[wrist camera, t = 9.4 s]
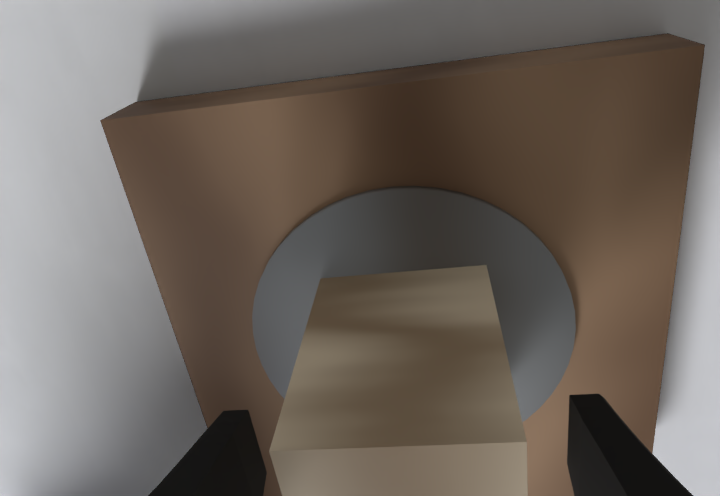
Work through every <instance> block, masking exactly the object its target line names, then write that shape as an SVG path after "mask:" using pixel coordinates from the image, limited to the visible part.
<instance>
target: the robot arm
mask: <svg viewBox="0 0 720 496" xmlns="http://www.w3.org/2000/svg"><path fill="white" fill-rule="evenodd" d="M567 466H568V470H569V474H570V479H571V483H572V488H573V492H574V496H693V495H692V494H691V493H690V492H689V491H688V490H687V489H686V488H685V487H684V486H683V485H682V484H681V483H680V482H679V481H678V480H677V479H676V478H675V477H674V476H673V475H672V474H671V473H670V472H669V471H668V470H667V469H666V468H665V467H664V466H663V465H662V464H661V463H660V461H659V460H658V459H657V458H656V457H655V456H654V455H653V454H652V453H651V452H650V451H649V450H648V449H647V448H646V446H645V445H644V444H643V443H642V442H641V441H640V440H639V439H638V437H637V436H636V435H635V434H634V433H633V432H632V431H631V430H630V428H629V427H628V426H627V425H626V424H625V423H624V421H623V420H622V419H621V418H620V417H619V415H618V414H617V413H616V412H615V411H614V409H613V408H612V407H611V406H610V404H609V403H608V402H607V401H606V399H605V398H604V397H603V396H601V395H600V394H579V395H569V421H568V449H567ZM266 475H267V471H266V468H265V464H264V461H263V457H262V454H261V451H260V447H259V444H258V441H257V437H256V434H255V431H254V427H253V424H252V421H251V417H250V414H249V411H248V410H229V411H223V412H222V413H221V414H220V415H219V416H218V417H217V419H216V420H215V421H214V422H213V423H212V424H211V425H210V427H209V428H208V429H207V430H206V431H205V432H204V434H203V435H202V436H201V437H200V438H199V439H198V441H197V442H196V443H195V444H194V445H193V446H192V448H191V449H190V450H189V451H188V452H187V453H186V455H185V456H184V457H183V458H182V459H181V460H180V461H179V463H178V464H177V465H176V466H175V467H174V468H173V469H172V470H171V472H170V473H169V474H168V475H167V476H166V477H165V478H164V479H163V481H162V482H161V483H160V484H159V485H158V486H157V487H156V488H155V489H154V490H153V491H152V492H151V493H150V494H149V496H263V493H264V487H265V481H266Z"/></svg>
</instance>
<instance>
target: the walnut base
mask: <svg viewBox="0 0 720 496" xmlns="http://www.w3.org/2000/svg"><path fill="white" fill-rule="evenodd" d="M704 48H705V45H703V44H700V43H697V42H694V41H690V40H687V39H684V38H681V37H677V36H674V35H671V34H660V35H652V36H645V37H637V38H629V39H621V40H614V41H606V42H598V43H590V44H583V45H575V46H567V47H559V48H551V49H544V50H536V51H528V52H520V53H513V54H505V55H497V56H489V57H482V58H474V59H466V60H458V61H450V62H443V63H435V64H427V65H419V66H412V67H404V68H396V69H388V70H380V71H373V72H365V73H357V74H349V75H342V76H334V77H326V78H318V79H311V80H303V81H295V82H287V83H279V84H272V85H264V86H256V87H248V88H241V89H233V90H225V91H217V92H210V93H202V94H194V95H186V96H178V97H171V98H163V99H155V100H147V101H140V102H135V103H133V104H131V105H129V106H127V107H125V108H123V109H121V110H119V111H118V112H116V113H114V114H112V115H110V116H108V117H106V118H104V119H102V120H100V121H101V124H102V127H103V129H104V132H105V135H106V138H107V141H108V144H109V147H110V149H111V152H112V155H113V158H114V161H115V164H116V167H117V170H118V172H119V175H120V178H121V181H122V184H123V187H124V190H125V192H126V195H127V198H128V201H129V204H130V207H131V210H132V213H133V215H134V218H135V221H136V224H137V227H138V230H139V233H140V235H141V238H142V241H143V244H144V247H145V250H146V253H147V256H148V258H149V261H150V264H151V267H152V270H153V273H154V276H155V278H156V281H157V284H158V287H159V290H160V293H161V296H162V299H163V301H164V304H165V307H166V310H167V313H168V316H169V319H170V321H171V324H172V327H173V330H174V333H175V336H176V339H177V342H178V344H179V347H180V350H181V353H182V356H183V359H184V362H185V364H186V367H187V370H188V373H189V376H190V379H191V382H192V385H193V387H194V390H195V393H196V396H197V399H198V402H199V405H200V407H201V410H202V413H203V416H204V419H205V422H206V425H207V428H209V427H210V425H211V424H212V423H213V422H214V421H215V420H216V419H217V417H218V416H219V415H220V414H221V413H222V412H223V411H229V410H248V411H249V414H250V417H251V421H252V424H253V427H254V431H255V434H256V437H257V441H258V444H259V447H260V451H261V454H262V457H263V461H264V464H265V468H266V471H267V475H266V481H265V487H264V493H263V496H282V493H281V490H280V486H279V483H278V480H277V476H276V473H275V470H274V466H273V463H272V459H271V456H270V453H269V450H270V447H271V443H272V440H273V436H274V433H275V430H276V426H277V423H278V420H279V416H280V413H281V409H282V406H283V403H284V399H285V396H286V393H287V389H288V386H289V383H290V379H291V376H292V372H293V369H294V366H295V362H296V359H297V356H298V352H299V349H300V345H301V342H302V339H303V335H304V332H305V329H306V325H307V322H308V319H309V315H310V312H311V308H312V305H313V302H314V298H315V295H316V292H317V288H318V285H319V281H320V278H331V277H344V276H356V275H368V274H381V273H393V272H405V271H418V270H430V269H442V268H455V267H467V266H479V265H487V270H488V274H489V278H490V283H491V287H492V291H493V296H494V300H495V305H496V309H497V313H498V318H499V322H500V327H501V331H502V335H503V340H504V344H505V348H506V353H507V357H508V362H509V366H510V370H511V375H512V379H513V384H514V388H515V392H516V397H517V401H518V405H519V410H520V414H521V419H522V423H523V427H524V432H525V436H526V440H527V489H528V496H574V492H573V488H572V483H571V479H570V474H569V470H568V466H567V449H568V421H569V395H579V394H600V395H601V396H603V397H604V398H605V399H606V401H607V402H608V403H609V404H610V406H611V407H612V408H613V409H614V411H615V412H616V413H617V414H618V415H619V417H620V418H621V419H622V420H623V421H624V423H625V424H626V425H627V426H628V427H629V428H630V430H631V431H632V432H633V433H634V434H635V435H636V436H637V437H638V439H639V440H640V441H641V442H642V443H643V444H644V445H645V446H646V448H647V449H648V450H649V451H650V452H651V453H652V451H653V443H654V435H655V428H656V420H657V412H658V404H659V397H660V389H661V381H662V373H663V366H664V358H665V350H666V342H667V335H668V327H669V319H670V311H671V304H672V296H673V288H674V280H675V273H676V265H677V257H678V249H679V242H680V234H681V226H682V218H683V211H684V203H685V195H686V187H687V180H688V172H689V164H690V156H691V149H692V141H693V133H694V125H695V118H696V110H697V102H698V94H699V87H700V79H701V71H702V63H703V56H704Z"/></svg>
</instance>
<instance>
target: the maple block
mask: <svg viewBox="0 0 720 496" xmlns="http://www.w3.org/2000/svg"><path fill="white" fill-rule="evenodd" d="M269 453H270V456H271V459H272V463H273V466H274V470H275V473H276V476H277V480H278V483H279V486H280V490H281V493H282V496H528V489H527V440H526V436H525V432H524V427H523V423H522V419H521V414H520V410H519V405H518V401H517V397H516V392H515V388H514V384H513V379H512V375H511V370H510V366H509V362H508V357H507V353H506V348H505V344H504V340H503V335H502V331H501V327H500V322H499V318H498V313H497V309H496V305H495V300H494V296H493V291H492V287H491V283H490V278H489V274H488V270H487V265H479V266H467V267H455V268H442V269H430V270H418V271H405V272H393V273H381V274H368V275H356V276H344V277H331V278H320V281H319V285H318V288H317V292H316V295H315V298H314V302H313V305H312V308H311V312H310V315H309V319H308V322H307V325H306V329H305V332H304V335H303V339H302V342H301V345H300V349H299V352H298V356H297V359H296V362H295V366H294V369H293V372H292V376H291V379H290V383H289V386H288V389H287V393H286V396H285V399H284V403H283V406H282V409H281V413H280V416H279V420H278V423H277V426H276V430H275V433H274V436H273V440H272V443H271V447H270V450H269Z"/></svg>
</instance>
